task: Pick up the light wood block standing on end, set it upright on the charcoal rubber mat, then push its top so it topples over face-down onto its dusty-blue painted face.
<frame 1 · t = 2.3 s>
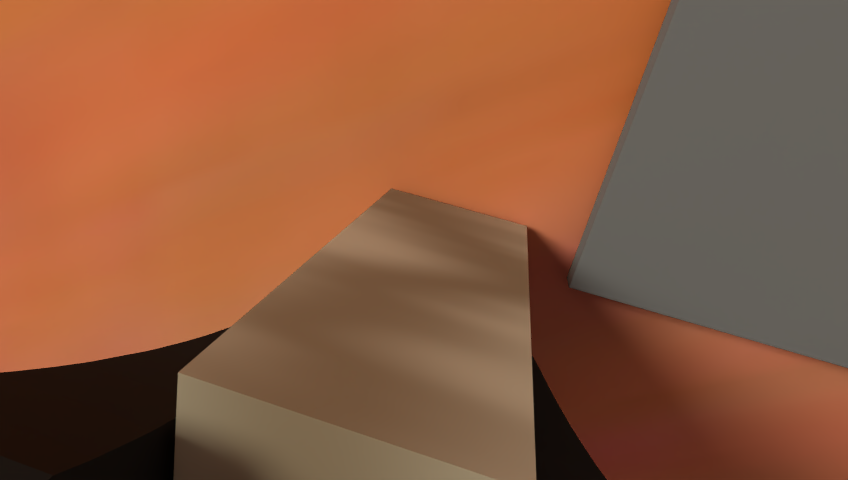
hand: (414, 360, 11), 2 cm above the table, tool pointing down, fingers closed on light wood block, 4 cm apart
light wood block: (430, 309, 13), on the table, touching gripper
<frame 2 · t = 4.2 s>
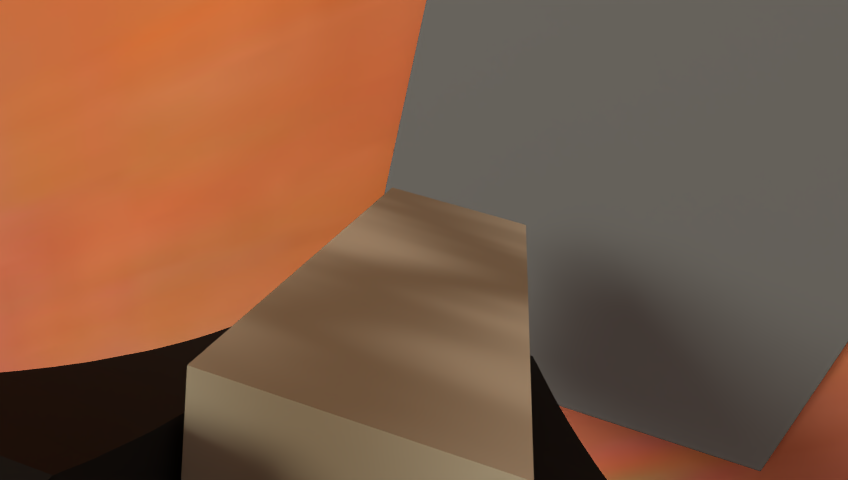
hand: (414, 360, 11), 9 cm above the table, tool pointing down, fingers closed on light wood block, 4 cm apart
mat: (636, 180, 17), on the table
light wood block: (430, 307, 13), point 7 cm above the table, touching gripper
when the fingers open (4 cm above the table, at t = 5.8 s): light wood block stays where it is, resting on mat.
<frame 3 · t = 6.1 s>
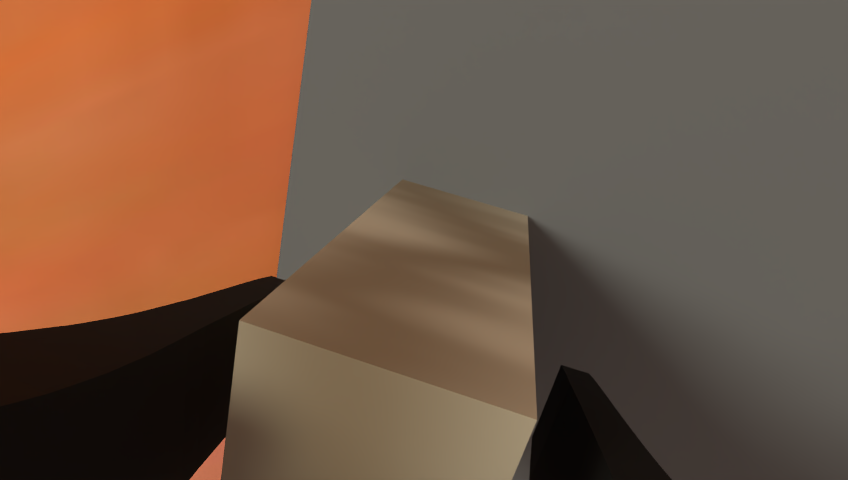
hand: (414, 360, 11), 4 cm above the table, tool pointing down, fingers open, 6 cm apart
mat: (596, 264, 13), on the table
light wood block: (436, 293, 14), point 1 cm above the table, touching mat
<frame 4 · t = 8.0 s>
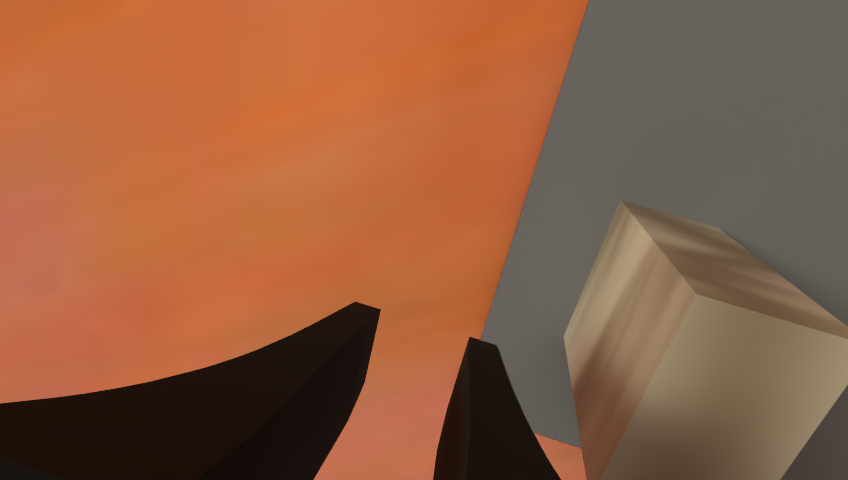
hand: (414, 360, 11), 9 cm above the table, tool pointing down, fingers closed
mat: (762, 264, 17), on the table
light wood block: (635, 285, 18), point 1 cm above the table, touching mat
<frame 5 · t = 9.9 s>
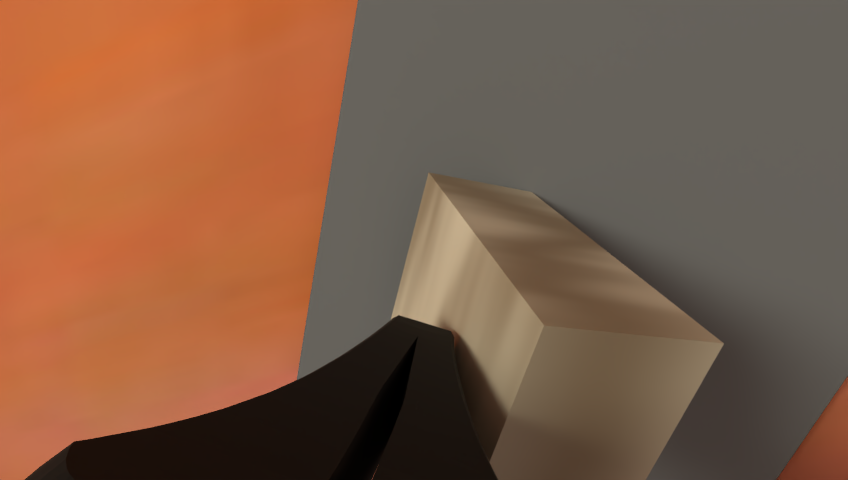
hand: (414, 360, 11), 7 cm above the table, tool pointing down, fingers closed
mat: (589, 234, 16), on the table
light wood block: (456, 267, 16), point 1 cm above the table, tilted 24°, touching mat
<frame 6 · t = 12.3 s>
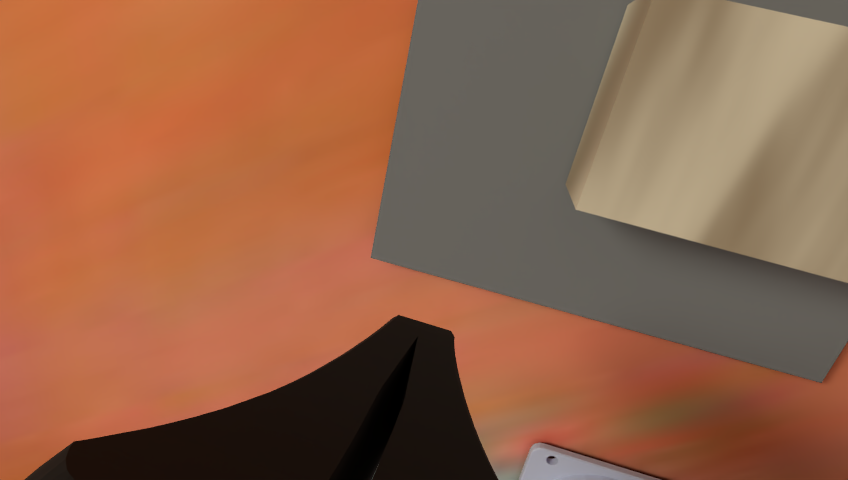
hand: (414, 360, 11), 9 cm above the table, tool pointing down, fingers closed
mat: (680, 54, 16), on the table
light wood block: (602, 103, 14), point 2 cm above the table, tilted 90°, touching mat
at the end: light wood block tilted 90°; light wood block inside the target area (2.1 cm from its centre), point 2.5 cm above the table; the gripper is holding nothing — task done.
